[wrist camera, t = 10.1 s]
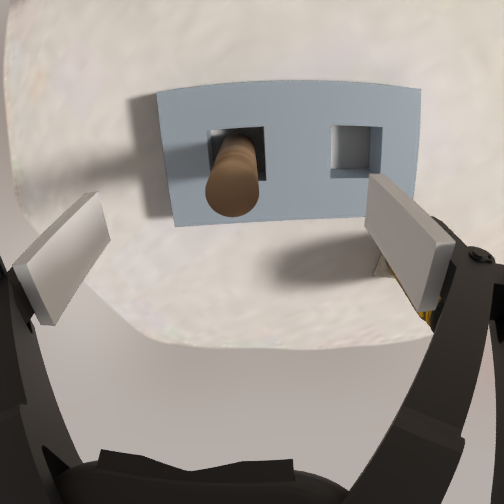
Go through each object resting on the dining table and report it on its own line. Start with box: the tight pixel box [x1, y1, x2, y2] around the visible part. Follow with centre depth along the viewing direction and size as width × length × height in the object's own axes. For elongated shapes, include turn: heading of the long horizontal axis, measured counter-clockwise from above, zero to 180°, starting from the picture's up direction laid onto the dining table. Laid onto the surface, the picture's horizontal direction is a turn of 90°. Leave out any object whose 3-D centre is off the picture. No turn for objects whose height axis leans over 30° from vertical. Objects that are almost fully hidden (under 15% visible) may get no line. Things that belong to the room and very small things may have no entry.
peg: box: [205, 133, 259, 217], centre depth 23 cm, size 3×3×12 cm
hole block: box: [156, 81, 421, 227], centre depth 27 cm, size 12×22×3 cm, turn 93°
